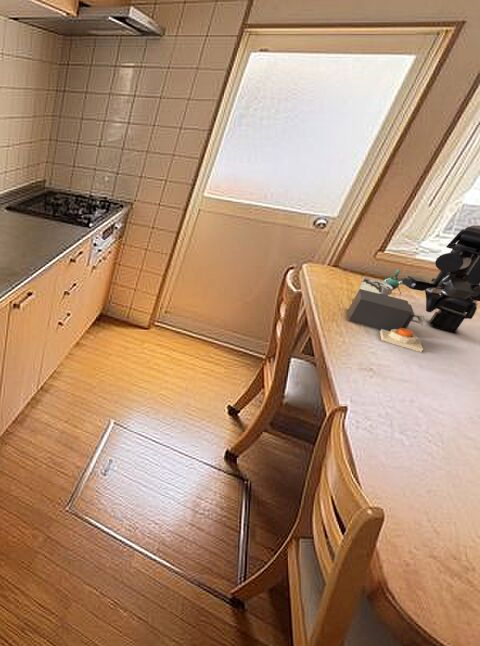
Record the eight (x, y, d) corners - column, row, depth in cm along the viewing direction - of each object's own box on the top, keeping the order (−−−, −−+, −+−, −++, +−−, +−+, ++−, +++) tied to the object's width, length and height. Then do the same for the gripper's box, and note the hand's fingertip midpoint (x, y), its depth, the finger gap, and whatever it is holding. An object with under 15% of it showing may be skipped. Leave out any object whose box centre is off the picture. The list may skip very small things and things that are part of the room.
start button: (410, 335, 141) (413, 330, 140) (411, 339, 139) (414, 334, 138) (396, 331, 143) (399, 326, 142) (397, 335, 141) (400, 330, 140)
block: (418, 342, 142) (423, 335, 141) (421, 352, 136) (426, 344, 135) (379, 331, 148) (384, 324, 146) (381, 340, 142) (386, 332, 140)
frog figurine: (390, 296, 178) (411, 265, 170) (397, 315, 165) (420, 283, 157) (362, 289, 182) (381, 259, 174) (366, 308, 170) (387, 276, 162)
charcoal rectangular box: (394, 322, 155) (407, 300, 151) (397, 335, 146) (411, 312, 142) (347, 309, 162) (359, 288, 158) (348, 321, 153) (360, 299, 149)
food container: (388, 315, 160) (402, 291, 156) (370, 312, 161) (384, 289, 157) (367, 301, 171) (380, 279, 167) (351, 299, 172) (363, 276, 168)
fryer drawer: (415, 326, 151) (426, 308, 148) (419, 338, 143) (431, 319, 140) (356, 310, 160) (366, 293, 157) (357, 320, 152) (367, 302, 149)
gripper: (434, 270, 127) (405, 315, 134) (514, 283, 122) (480, 329, 129) (414, 259, 137) (389, 301, 144) (488, 270, 131) (458, 314, 138)
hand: (428, 311), depth 138 cm, fingers closed
